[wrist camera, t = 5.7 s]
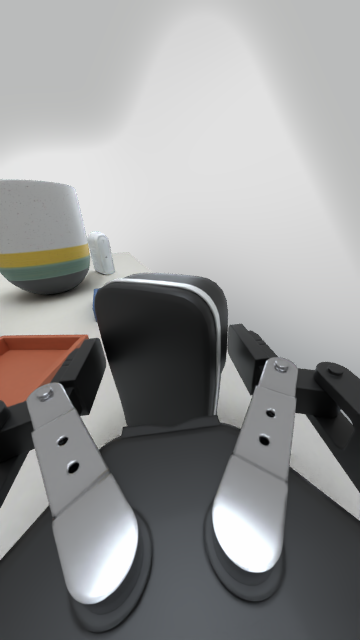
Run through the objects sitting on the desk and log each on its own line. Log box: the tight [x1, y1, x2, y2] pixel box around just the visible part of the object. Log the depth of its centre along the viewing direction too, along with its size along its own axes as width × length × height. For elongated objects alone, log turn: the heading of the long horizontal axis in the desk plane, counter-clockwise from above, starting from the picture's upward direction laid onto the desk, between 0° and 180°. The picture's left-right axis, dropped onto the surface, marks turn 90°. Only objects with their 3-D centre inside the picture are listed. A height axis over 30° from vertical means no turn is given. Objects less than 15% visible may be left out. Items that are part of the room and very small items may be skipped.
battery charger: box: [94, 273, 228, 427], centre depth 13 cm, size 7×4×11 cm, turn 64°
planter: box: [0, 180, 90, 294], centre depth 44 cm, size 20×20×21 cm
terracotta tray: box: [0, 335, 89, 407], centre depth 20 cm, size 11×11×2 cm
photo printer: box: [87, 231, 115, 275], centre depth 63 cm, size 10×4×12 cm, turn 39°
